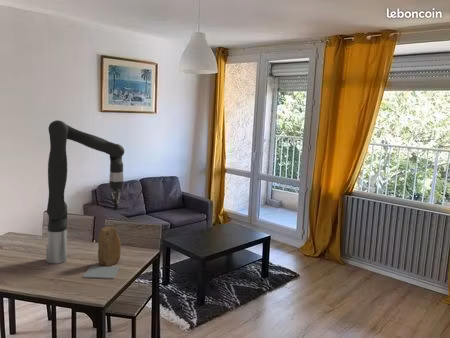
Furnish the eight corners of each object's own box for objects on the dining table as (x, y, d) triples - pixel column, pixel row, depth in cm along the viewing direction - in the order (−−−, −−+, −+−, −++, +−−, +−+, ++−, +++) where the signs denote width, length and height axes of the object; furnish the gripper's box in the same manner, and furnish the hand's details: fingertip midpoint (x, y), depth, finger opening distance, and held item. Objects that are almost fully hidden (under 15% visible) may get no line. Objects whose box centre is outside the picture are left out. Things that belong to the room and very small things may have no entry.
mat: (82, 277, 184) (82, 276, 184) (91, 267, 197) (91, 266, 197) (113, 278, 185) (113, 277, 185) (119, 268, 197) (119, 267, 197)
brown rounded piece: (103, 267, 197) (103, 231, 194) (96, 263, 202) (97, 227, 199) (121, 263, 204) (122, 227, 201) (115, 258, 209) (115, 224, 207)
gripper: (112, 177, 216) (112, 206, 218) (106, 181, 203) (106, 212, 205) (125, 178, 216) (125, 207, 219) (120, 182, 203) (119, 213, 206)
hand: (115, 209), depth 212 cm, fingers closed
